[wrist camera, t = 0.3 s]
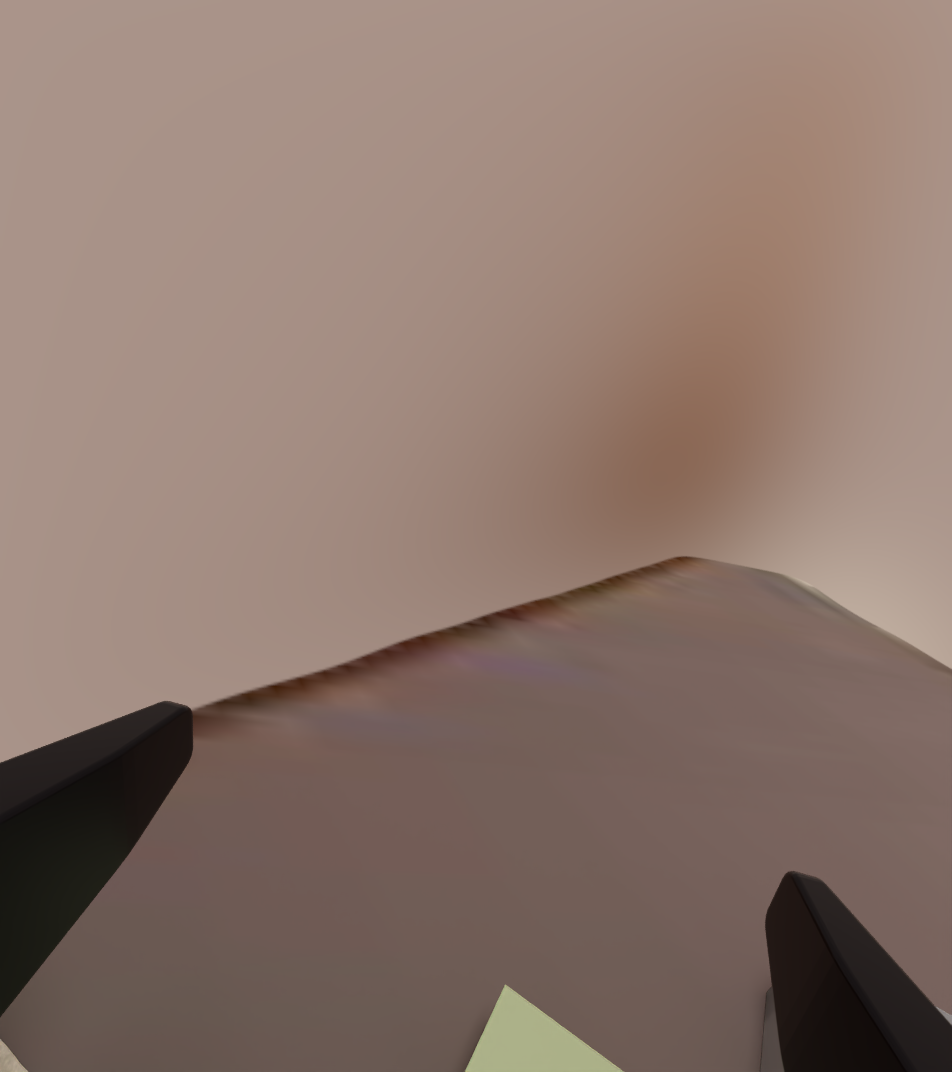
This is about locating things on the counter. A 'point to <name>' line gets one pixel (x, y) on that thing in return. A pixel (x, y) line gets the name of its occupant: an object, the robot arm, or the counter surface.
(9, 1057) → the condiment
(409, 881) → the counter surface
